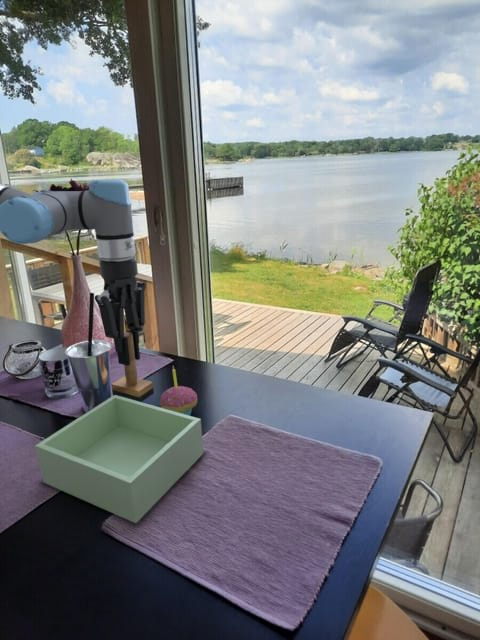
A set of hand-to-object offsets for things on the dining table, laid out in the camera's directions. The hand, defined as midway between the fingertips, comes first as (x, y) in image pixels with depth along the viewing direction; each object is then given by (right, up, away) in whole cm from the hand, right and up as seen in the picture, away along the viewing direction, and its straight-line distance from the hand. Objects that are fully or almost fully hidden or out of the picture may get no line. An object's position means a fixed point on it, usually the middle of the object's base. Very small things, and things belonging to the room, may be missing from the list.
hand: (129, 360), depth 99 cm
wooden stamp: (0, -8, +3) cm, 9 cm away
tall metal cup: (-9, -12, +6) cm, 16 cm away
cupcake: (+11, -13, +1) cm, 17 cm away
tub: (+3, -19, -15) cm, 24 cm away
